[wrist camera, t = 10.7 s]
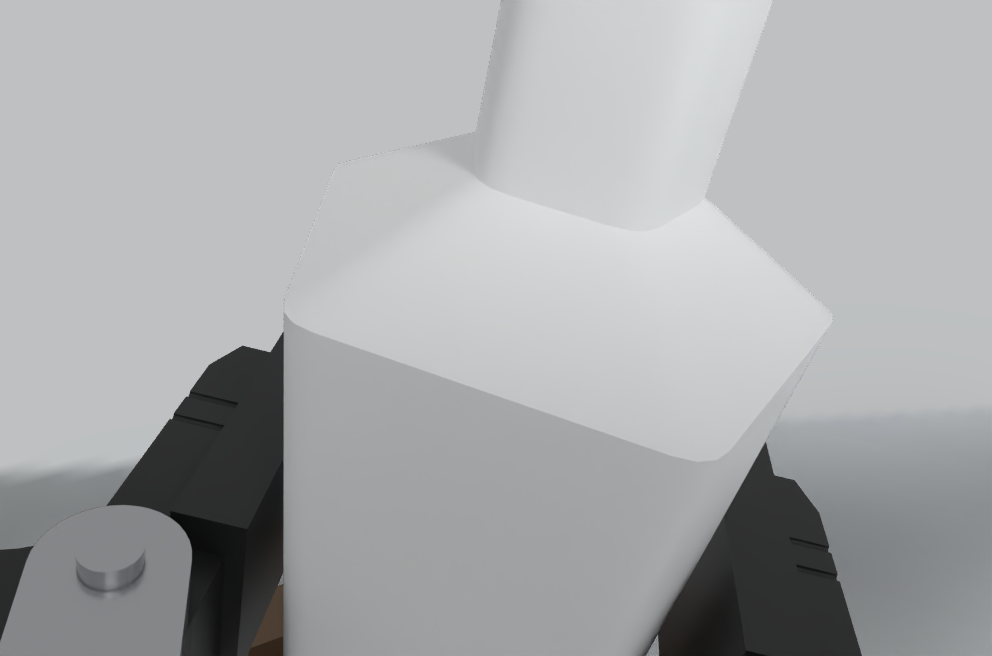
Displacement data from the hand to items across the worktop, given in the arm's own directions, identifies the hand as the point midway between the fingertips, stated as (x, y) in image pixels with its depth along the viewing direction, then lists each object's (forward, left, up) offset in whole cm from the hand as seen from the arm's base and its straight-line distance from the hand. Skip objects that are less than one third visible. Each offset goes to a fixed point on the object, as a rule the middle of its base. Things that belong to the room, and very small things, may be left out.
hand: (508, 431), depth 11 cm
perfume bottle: (+2, +2, -9) cm, 9 cm away
